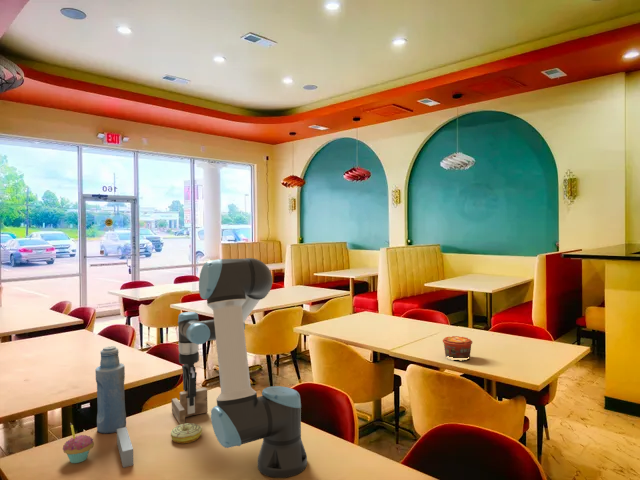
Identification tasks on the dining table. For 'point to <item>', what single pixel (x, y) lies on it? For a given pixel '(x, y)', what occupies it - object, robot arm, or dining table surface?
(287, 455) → the robot arm
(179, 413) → the pusher
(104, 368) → the bottle
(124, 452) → the backstop
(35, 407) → the dining table surface
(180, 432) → the decorated donut
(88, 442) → the cupcake
